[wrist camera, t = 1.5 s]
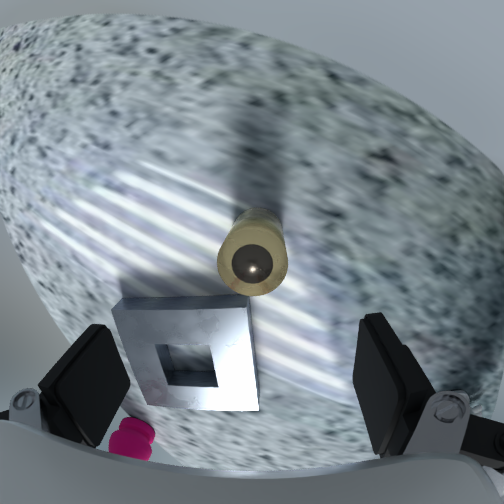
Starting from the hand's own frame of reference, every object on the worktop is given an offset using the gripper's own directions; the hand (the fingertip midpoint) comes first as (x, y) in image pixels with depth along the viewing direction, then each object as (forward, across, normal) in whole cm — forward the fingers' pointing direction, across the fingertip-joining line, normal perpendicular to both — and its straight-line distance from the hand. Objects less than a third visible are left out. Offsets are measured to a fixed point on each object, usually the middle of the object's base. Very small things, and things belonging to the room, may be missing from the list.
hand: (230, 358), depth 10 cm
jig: (+19, +9, +14) cm, 25 cm away
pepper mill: (+19, +23, +32) cm, 44 cm away
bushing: (+19, 0, 0) cm, 19 cm away
